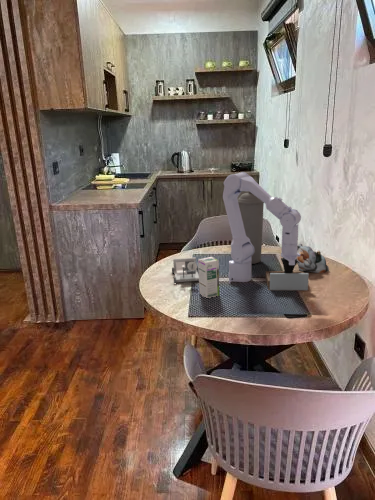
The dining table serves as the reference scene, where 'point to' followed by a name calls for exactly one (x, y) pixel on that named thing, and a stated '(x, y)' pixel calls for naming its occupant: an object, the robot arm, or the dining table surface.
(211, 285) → the syrup box
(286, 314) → the phone
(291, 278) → the cabinet door
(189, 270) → the grey small appliance
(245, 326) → the dining table surface
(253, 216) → the canister
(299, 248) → the lucky cat figurine
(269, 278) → the brown shallow open box
